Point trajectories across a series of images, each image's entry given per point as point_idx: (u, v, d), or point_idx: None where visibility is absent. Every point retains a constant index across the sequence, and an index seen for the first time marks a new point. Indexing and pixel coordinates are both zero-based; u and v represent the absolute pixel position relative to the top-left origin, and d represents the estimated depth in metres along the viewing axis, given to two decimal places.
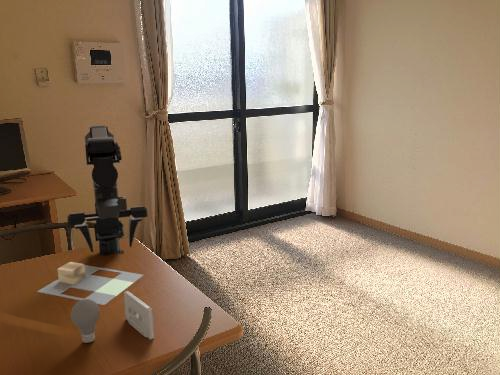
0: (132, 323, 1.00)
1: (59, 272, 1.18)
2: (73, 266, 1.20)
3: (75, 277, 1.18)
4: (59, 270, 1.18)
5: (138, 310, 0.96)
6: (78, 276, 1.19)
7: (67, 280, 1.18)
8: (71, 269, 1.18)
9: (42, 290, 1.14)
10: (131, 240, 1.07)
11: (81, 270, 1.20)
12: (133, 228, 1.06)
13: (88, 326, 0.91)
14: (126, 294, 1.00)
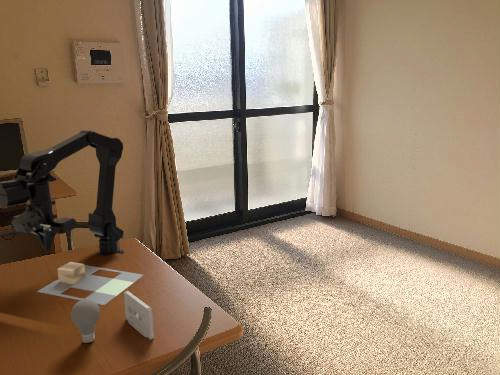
0: (132, 323, 1.00)
1: (59, 272, 1.18)
2: (73, 266, 1.20)
3: (75, 277, 1.18)
4: (59, 270, 1.18)
5: (138, 310, 0.96)
6: (78, 276, 1.19)
7: (67, 280, 1.18)
8: (71, 269, 1.18)
9: (42, 290, 1.14)
10: (45, 246, 1.20)
11: (81, 270, 1.20)
12: (44, 237, 1.18)
13: (88, 327, 0.91)
14: (126, 294, 1.00)
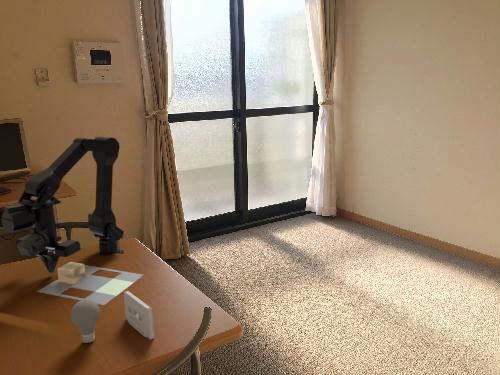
0: (132, 323, 1.00)
1: (59, 272, 1.18)
2: (73, 266, 1.20)
3: (75, 277, 1.18)
4: (59, 270, 1.18)
5: (138, 310, 0.96)
6: (78, 276, 1.19)
7: (67, 280, 1.18)
8: (71, 269, 1.18)
9: (42, 290, 1.14)
10: (50, 268, 1.21)
11: (81, 270, 1.20)
12: (49, 259, 1.20)
13: (88, 327, 0.91)
14: (126, 294, 1.00)
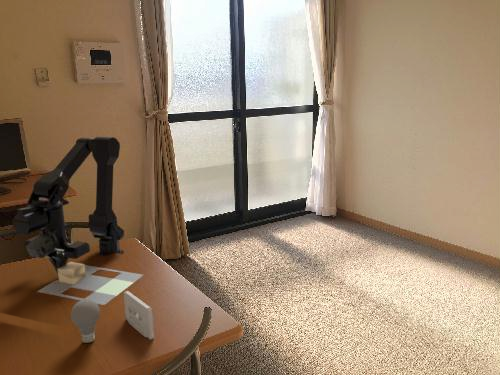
0: (132, 323, 1.00)
1: (59, 272, 1.18)
2: (73, 266, 1.20)
3: (75, 277, 1.18)
4: (59, 270, 1.18)
5: (138, 310, 0.96)
6: (78, 276, 1.19)
7: (67, 280, 1.18)
8: (71, 269, 1.18)
9: (42, 290, 1.14)
10: None
11: (81, 270, 1.20)
12: (58, 261, 1.19)
13: (88, 327, 0.91)
14: (126, 294, 1.00)
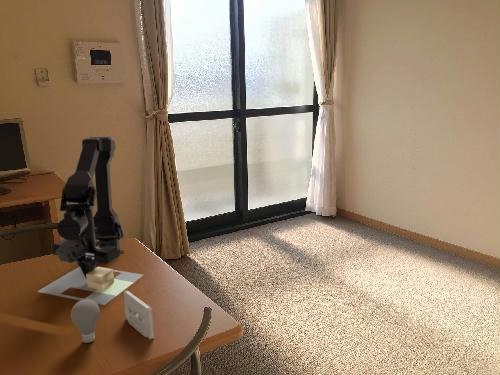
0: (132, 323, 1.00)
1: (87, 278, 1.15)
2: (101, 271, 1.16)
3: (104, 282, 1.15)
4: (88, 275, 1.15)
5: (138, 310, 0.96)
6: (107, 282, 1.16)
7: (96, 286, 1.14)
8: (100, 275, 1.14)
9: (42, 290, 1.14)
10: None
11: (110, 275, 1.17)
12: (87, 265, 1.15)
13: (88, 327, 0.91)
14: (126, 294, 1.00)
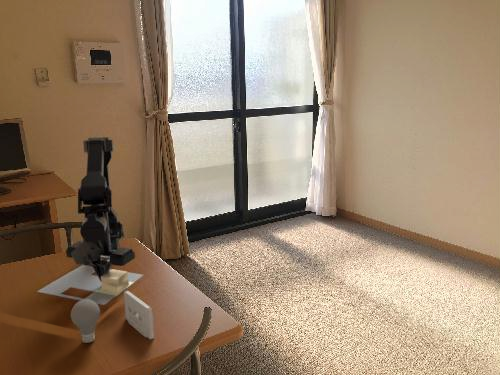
0: (132, 323, 1.00)
1: (102, 281, 1.13)
2: (116, 274, 1.15)
3: (119, 285, 1.13)
4: (103, 278, 1.13)
5: (138, 310, 0.96)
6: (122, 285, 1.14)
7: (111, 288, 1.13)
8: (115, 277, 1.13)
9: (42, 290, 1.14)
10: None
11: (125, 278, 1.15)
12: (101, 268, 1.14)
13: (88, 326, 0.91)
14: (126, 294, 1.00)
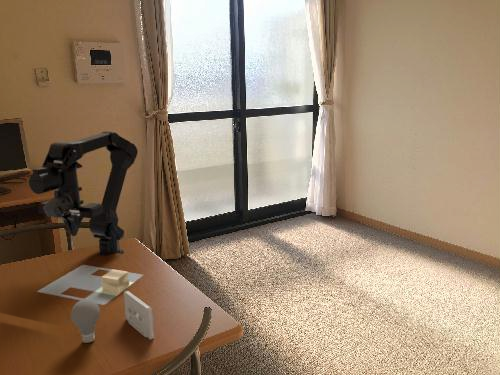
0: (132, 323, 1.00)
1: (103, 281, 1.13)
2: (117, 274, 1.15)
3: (120, 285, 1.13)
4: (103, 278, 1.13)
5: (138, 310, 0.96)
6: (123, 285, 1.14)
7: (111, 288, 1.13)
8: (116, 277, 1.13)
9: (42, 290, 1.14)
10: (73, 231, 1.25)
11: (125, 278, 1.15)
12: (72, 222, 1.23)
13: (88, 327, 0.91)
14: (126, 294, 1.00)
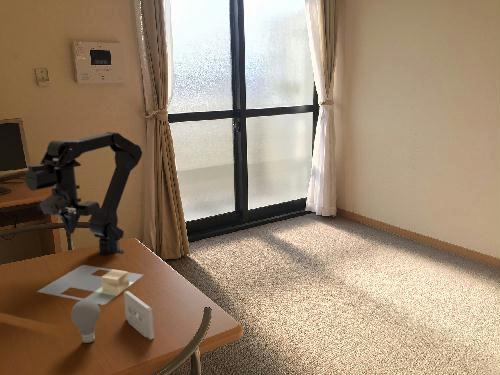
0: (132, 323, 1.00)
1: (103, 281, 1.13)
2: (117, 274, 1.15)
3: (120, 285, 1.13)
4: (103, 278, 1.13)
5: (138, 310, 0.96)
6: (123, 285, 1.14)
7: (111, 288, 1.13)
8: (116, 277, 1.13)
9: (42, 290, 1.14)
10: (70, 229, 1.26)
11: (125, 278, 1.15)
12: (69, 220, 1.24)
13: (88, 327, 0.91)
14: (126, 294, 1.00)
